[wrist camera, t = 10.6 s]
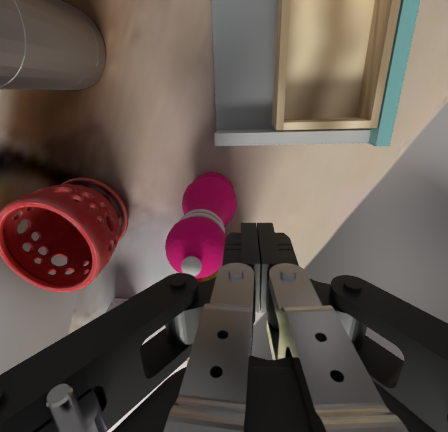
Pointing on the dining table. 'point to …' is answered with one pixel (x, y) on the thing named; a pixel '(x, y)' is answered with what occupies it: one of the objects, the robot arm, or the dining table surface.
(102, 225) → the plant pot
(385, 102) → the bay
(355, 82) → the crate
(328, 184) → the dining table surface
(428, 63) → the dining table surface
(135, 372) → the robot arm
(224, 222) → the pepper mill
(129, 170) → the dining table surface
